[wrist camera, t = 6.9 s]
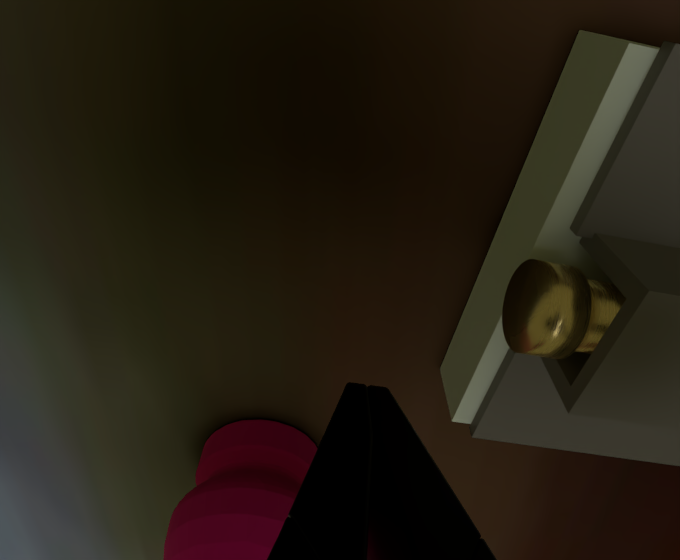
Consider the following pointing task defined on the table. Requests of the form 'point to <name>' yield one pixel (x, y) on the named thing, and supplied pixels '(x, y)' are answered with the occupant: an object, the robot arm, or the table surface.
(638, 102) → the hinge board
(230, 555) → the pepper mill
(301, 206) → the table surface
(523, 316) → the hinge pin
